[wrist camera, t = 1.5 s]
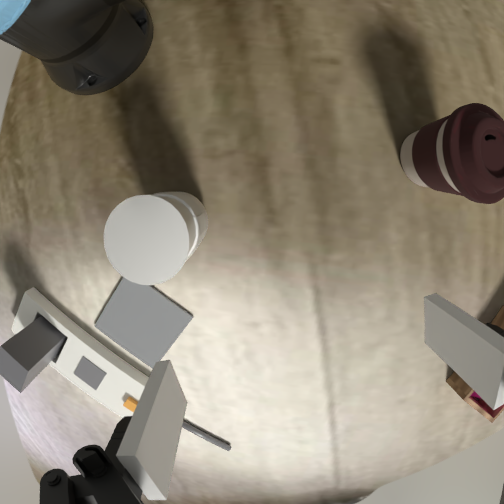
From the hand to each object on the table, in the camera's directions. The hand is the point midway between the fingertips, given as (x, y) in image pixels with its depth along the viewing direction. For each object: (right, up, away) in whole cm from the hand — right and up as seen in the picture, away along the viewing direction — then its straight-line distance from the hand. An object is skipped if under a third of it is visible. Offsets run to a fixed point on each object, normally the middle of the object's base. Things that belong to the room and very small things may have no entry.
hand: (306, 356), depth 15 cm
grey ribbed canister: (-11, +9, +23) cm, 27 cm away
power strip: (-21, -14, +27) cm, 37 cm away
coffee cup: (+19, +17, +22) cm, 34 cm away
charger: (-32, -7, +25) cm, 41 cm away
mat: (-17, -4, +25) cm, 30 cm away
